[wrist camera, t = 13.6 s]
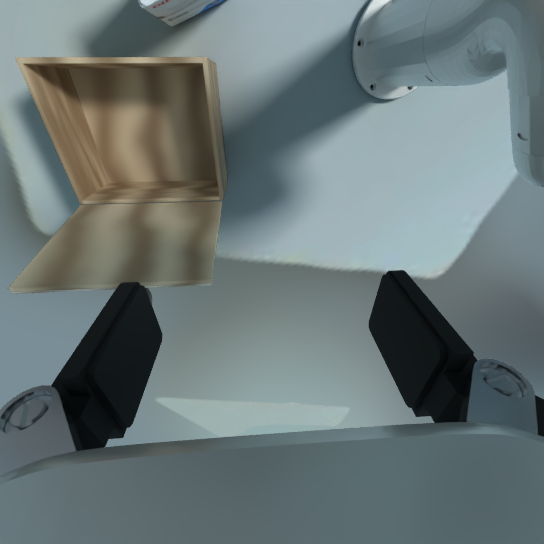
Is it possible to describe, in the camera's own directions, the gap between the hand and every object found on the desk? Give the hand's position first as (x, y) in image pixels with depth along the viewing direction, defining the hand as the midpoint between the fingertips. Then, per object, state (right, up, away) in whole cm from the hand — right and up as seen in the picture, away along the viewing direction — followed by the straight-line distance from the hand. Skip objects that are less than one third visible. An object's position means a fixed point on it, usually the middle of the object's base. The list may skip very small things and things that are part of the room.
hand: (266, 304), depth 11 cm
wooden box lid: (-16, +5, +21) cm, 27 cm away
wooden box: (-17, +23, +29) cm, 41 cm away
